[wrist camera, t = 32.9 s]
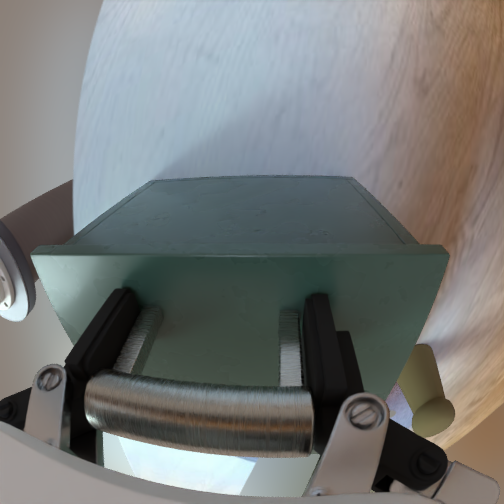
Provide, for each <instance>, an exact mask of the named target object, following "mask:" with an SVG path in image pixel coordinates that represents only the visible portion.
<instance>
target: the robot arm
mask: <svg viewBox="0 0 504 504" xmlns="http://www.w3.org/2000/svg"><path fill="white" fill-rule="evenodd" d="M13 303H14V289H13V285H12V281H11V278H10V276H9V273H8V271H7V269H6V267H5V265H4V263H3V261H2V259H1V258H0V310H3V311H6V310H8V309H9V308H10V307H11V306H12V305H13ZM139 313H140V310H139V307H138V303H137V300H136V296H135V294H134V293H131V291H130V290H129V289H120V288H116V289H114V290H113V292H112V293H111V294H110V296H109V297H108V298H107V300H106V301H105V302H104V304H103V305H102V307H101V308H100V309H99V311H98V312H97V314H96V315H95V316H94V318H93V319H92V321H91V322H90V323H89V325H88V326H87V328H86V329H85V331H84V332H83V334H82V335H81V337H80V338H79V340H78V341H77V343H76V344H75V346H74V347H73V349H72V350H71V352H70V353H69V355H68V356H67V358H66V359H65V363H66V364H65V366H64V368H63V367H62V366H61V365H58V364H50V365H47V366H45V367H43V368H42V369H40V370H39V371H38V372H37V374H36V375H35V378H34V381H33V385H32V387H30V388H28V389H26V390H23V391H21V392H18V393H16V394H14V395H11V396H9V397H6V398H4V399H2V400H1V401H0V504H496V503H497V501H498V498H499V494H500V489H499V488H500V487H499V485H498V483H497V481H495V480H494V479H493V478H491V477H489V476H486V475H484V474H482V473H480V472H478V471H476V470H474V469H472V468H470V467H467V466H465V465H464V464H462V463H459V462H458V461H454V462H451V461H448V459H447V456H446V454H445V452H444V451H443V449H441V448H440V447H439V446H437V445H436V444H434V443H432V442H430V441H428V440H426V439H425V438H423V437H421V436H419V435H417V434H416V433H414V432H412V431H410V430H409V429H407V428H405V427H403V426H402V425H400V424H398V423H397V422H395V421H393V420H392V419H390V411H389V408H388V405H387V404H386V402H385V401H384V400H383V399H382V398H380V397H379V396H377V395H375V394H372V393H365V391H364V387H363V383H362V378H361V374H360V370H359V366H358V362H357V358H356V354H355V350H354V346H353V342H352V339H351V335H350V332H349V331H336V329H335V324H334V320H333V316H332V311H331V307H330V303H329V299H328V295H327V294H312V295H311V298H306V299H305V304H304V315H303V325H302V334H301V345H302V359H303V375H304V386H309V387H311V389H312V391H313V395H314V401H315V437H314V445H313V448H314V451H316V452H317V453H318V454H320V458H319V460H318V462H317V464H316V467H315V469H314V471H313V473H312V476H311V478H310V480H309V482H308V484H307V486H306V488H305V491H304V493H303V495H302V497H254V496H238V495H227V494H218V493H210V492H203V491H196V490H190V489H184V488H179V487H174V486H169V485H164V484H160V483H156V482H152V481H148V480H144V479H140V478H136V477H133V476H129V475H126V474H122V473H119V472H116V471H113V470H110V469H107V468H104V455H103V434H102V433H103V431H100V430H97V429H95V428H94V427H93V426H91V424H90V423H89V422H88V420H87V418H86V415H85V412H84V405H83V399H84V391H85V387H86V384H87V382H88V380H89V378H90V377H91V375H92V374H93V373H94V372H95V371H97V370H99V369H102V368H106V369H111V370H112V369H113V366H114V364H115V362H116V360H117V358H118V356H119V354H120V352H121V350H122V347H123V345H124V343H125V341H126V339H127V337H128V335H129V333H130V331H131V329H132V327H133V325H134V323H135V321H136V319H137V317H138V315H139ZM370 490H373V491H375V493H370Z"/></svg>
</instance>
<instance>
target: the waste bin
mask: <svg viewBox="0 0 504 504" xmlns="http://www.w3.org/2000/svg"><path fill="white" fill-rule="evenodd" d="M220 243H308V244H419V243H418V242H417V241H416V239H415V238H414V237H413V236H412V235H411V234H410V233H409V232H408V231H407V230H406V229H405V228H404V227H403V226H402V224H401V223H400V222H399V221H398V220H397V219H396V218H395V217H394V216H393V215H392V214H391V213H390V212H389V211H388V210H387V209H386V208H385V207H384V206H383V205H382V204H381V203H380V202H379V201H378V200H377V199H376V198H375V197H373V196H372V195H371V194H370V193H369V192H368V191H367V190H366V189H365V188H364V187H363V186H362V185H361V184H360V183H359V182H357V181H356V180H355V179H354V178H353V177H337V176H296V175H263V176H222V177H200V178H183V179H168V180H156V181H149V182H148V183H146V184H145V185H143V186H142V187H140V188H139V189H137V190H136V191H134V192H133V193H131V194H130V195H128V196H127V197H125V198H124V199H123V200H121V201H120V202H118V203H117V204H116V205H114V206H113V207H111V208H110V209H109V210H107V211H106V212H105V213H103V214H102V215H100V216H99V217H98V218H96V219H95V220H94V221H93V222H91V223H90V224H89V225H87V226H86V227H85V228H83V229H82V230H81V231H80V232H78V233H77V234H76V235H75V236H73V237H72V238H71V239H70V240H68V241H67V242H66V243H65V244H64V245H97V244H220Z"/></svg>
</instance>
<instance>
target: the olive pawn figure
mask: <svg viewBox="0 0 504 504" xmlns="http://www.w3.org/2000/svg"><path fill="white" fill-rule="evenodd" d="M397 382H398V384H399V386H400V388H401V390H402V392H403V394H404V396H405V398H406V400H407V402H408V404H409V406H410V408H411V410H412V412H413V414H414V415H413V418H412V428H413V431H414V432H415V433H416V434H417V435H419V436H421V437H423V438H426V437H431V436H434V435H436V434H439V433H440V432H442V431H444V430H445V429H447V428H448V427H449V426H450V425H451V423H452V422H453V421H454V417H455V409H454V407H453V405H452V403H451V402H450V401H449V400H447V399H445V395H444V391H443V387H442V383H441V379H440V375H439V371H438V368H437V364H436V360H435V357H434V354H433V350H432V348H431V347H430V346H428V345H424V344H420V345H415V346H414V348H413V350H412V353H411V355H410V357H409V359H408V361H407V362H406V364H405V366H404V368H403V370H402V372H401V374H400V376H399V378H398V379H397Z"/></svg>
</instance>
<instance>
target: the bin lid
mask: <svg viewBox="0 0 504 504" xmlns="http://www.w3.org/2000/svg"><path fill="white" fill-rule="evenodd" d="M30 256H31V259H32V261H33V264H34V266H35V269H36V271H37V274H38V276H39V278H40V281H41V283H42V285H43V287H44V290H45V292H46V294H47V296H48V298H49V300H50V302H51V304H52V306H53V308H54V310H55V312H56V314H57V316H58V318H59V320H60V322H61V324H62V326H63V328H64V329H65V331H66V333H67V335H68V337H69V338H70V340H71V342H72V343H73V345H74V346H75V344H76V343H77V341H78V340H79V338H80V337H81V335H82V334H83V332H84V331H85V329H86V328H87V326H88V325H89V323H90V322H91V321H92V319H93V318H94V316H95V315H96V314H97V312H98V311H99V309H100V308H101V307H102V305H103V304H104V302H105V301H106V300H107V298H108V297H109V296H110V294H111V293H112V292H113V290H114V289H116V288H120V289H129V290H130V291H131V293H134V294H135V296H136V300H137V303H138V307H139V310H140V313H139V315H138V317H137V319H136V321H135V323H134V325H133V327H132V329H131V331H130V333H129V335H128V337H127V339H126V341H125V343H124V345H123V347H122V350H121V352H120V354H119V356H118V358H117V360H116V362H115V364H114V366H113V369H112V370H111V369H106V368H102V369H99V370H97V371H95V372H94V373H93V374H92V375H91V377H90V378H89V380H88V382H87V384H86V387H85V391H84V399H83V405H84V412H85V415H86V418H87V420H88V422H89V423H90V424H91V426H93V427H94V428H95V429H97V430H100V431H103V432H106V433H110V434H114V435H117V436H120V437H124V438H128V439H132V440H136V441H140V442H144V443H149V444H153V445H158V446H163V447H169V448H174V449H180V450H186V451H193V452H200V453H208V454H217V455H228V456H242V457H265V458H289V457H290V458H291V457H292V458H293V457H308V456H309V455H310V454H318V453H317V452H316V451H314V448H313V445H314V437H315V401H314V395H313V391H312V389H311V387H309V386H304V375H303V359H302V345H301V334H302V325H303V315H304V304H305V299H306V298H311V295H312V294H327V295H328V299H329V303H330V307H331V311H332V316H333V320H334V324H335V329H336V331H349V332H350V335H351V339H352V342H353V346H354V350H355V354H356V358H357V362H358V366H359V370H360V374H361V378H362V383H363V387H364V391H365V393H372V394H375V395H377V396H379V397H380V398H382V399H383V400H384V401H385V400H386V399H387V397H388V395H389V393H390V392H391V390H392V388H393V387H394V385H395V383H396V381H397V379H398V378H399V376H400V374H401V372H402V370H403V368H404V366H405V364H406V362H407V361H408V359H409V357H410V355H411V353H412V350H413V348H414V346H415V344H416V342H417V340H418V338H419V336H420V333H421V331H422V329H423V327H424V324H425V322H426V320H427V317H428V315H429V313H430V310H431V308H432V305H433V303H434V300H435V298H436V295H437V292H438V290H439V287H440V284H441V281H442V278H443V275H444V273H445V270H446V266H447V263H448V260H449V257H450V255H449V253H448V252H447V251H446V250H445V248H444V247H443V246H442V245H430V244H308V243H220V244H97V245H39V246H38V247H37V248H36V249H34V250H33V251H32V252H31V253H30Z"/></svg>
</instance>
